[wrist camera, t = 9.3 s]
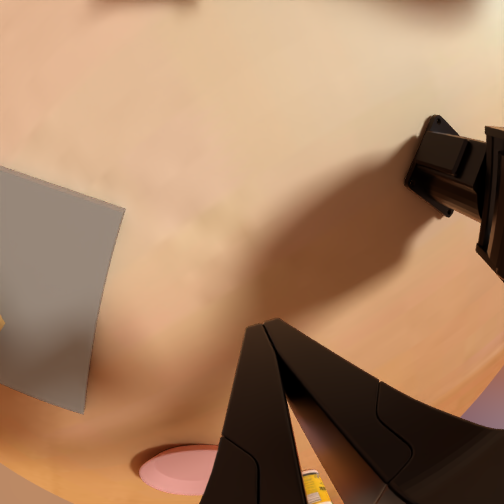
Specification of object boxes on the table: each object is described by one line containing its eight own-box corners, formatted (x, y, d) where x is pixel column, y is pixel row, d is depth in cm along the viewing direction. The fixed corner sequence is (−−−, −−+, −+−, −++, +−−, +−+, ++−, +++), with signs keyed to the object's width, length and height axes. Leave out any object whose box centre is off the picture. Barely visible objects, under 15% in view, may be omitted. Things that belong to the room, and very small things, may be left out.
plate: (125, 472, 29) (125, 485, 28) (163, 424, 26) (164, 440, 24) (219, 488, 35) (222, 498, 33) (277, 444, 32) (281, 457, 30)
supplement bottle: (317, 476, 39) (337, 522, 31) (286, 486, 39) (303, 534, 30) (317, 465, 37) (340, 516, 28) (283, 476, 36) (302, 529, 28)
